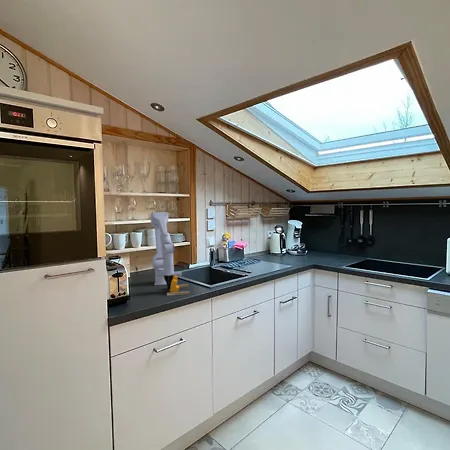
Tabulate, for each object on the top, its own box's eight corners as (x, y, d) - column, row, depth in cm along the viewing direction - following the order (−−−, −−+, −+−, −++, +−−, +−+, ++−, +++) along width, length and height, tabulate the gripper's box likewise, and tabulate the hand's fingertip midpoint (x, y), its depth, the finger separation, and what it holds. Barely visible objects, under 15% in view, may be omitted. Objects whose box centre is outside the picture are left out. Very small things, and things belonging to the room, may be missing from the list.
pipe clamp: (177, 293, 165) (180, 282, 165) (169, 291, 165) (172, 280, 164) (177, 287, 177) (180, 276, 177) (170, 285, 177) (173, 275, 176)
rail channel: (167, 287, 178) (167, 285, 177) (188, 286, 179) (188, 284, 179) (167, 295, 162) (166, 293, 162) (189, 294, 164) (189, 292, 164)
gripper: (154, 267, 164) (155, 291, 165) (181, 265, 166) (182, 290, 167) (155, 264, 171) (156, 288, 171) (181, 263, 173) (181, 286, 174)
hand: (169, 288), depth 170 cm, fingers closed
